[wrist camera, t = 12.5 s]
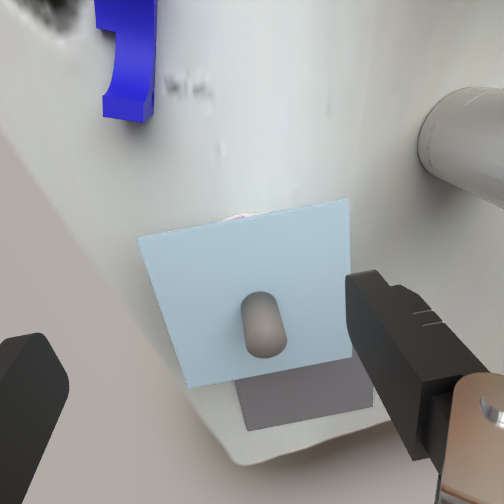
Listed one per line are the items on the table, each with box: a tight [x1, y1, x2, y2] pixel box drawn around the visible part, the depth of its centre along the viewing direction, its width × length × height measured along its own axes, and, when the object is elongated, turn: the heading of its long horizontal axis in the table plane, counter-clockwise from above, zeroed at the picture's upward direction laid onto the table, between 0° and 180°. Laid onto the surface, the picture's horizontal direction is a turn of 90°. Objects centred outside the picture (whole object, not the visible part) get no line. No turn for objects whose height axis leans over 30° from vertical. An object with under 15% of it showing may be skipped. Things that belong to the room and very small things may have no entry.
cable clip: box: [94, 0, 158, 123], centre depth 27 cm, size 12×4×6 cm, turn 171°
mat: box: [235, 345, 373, 431], centre depth 50 cm, size 20×20×1 cm
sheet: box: [137, 199, 352, 389], centre depth 32 cm, size 18×18×6 cm
